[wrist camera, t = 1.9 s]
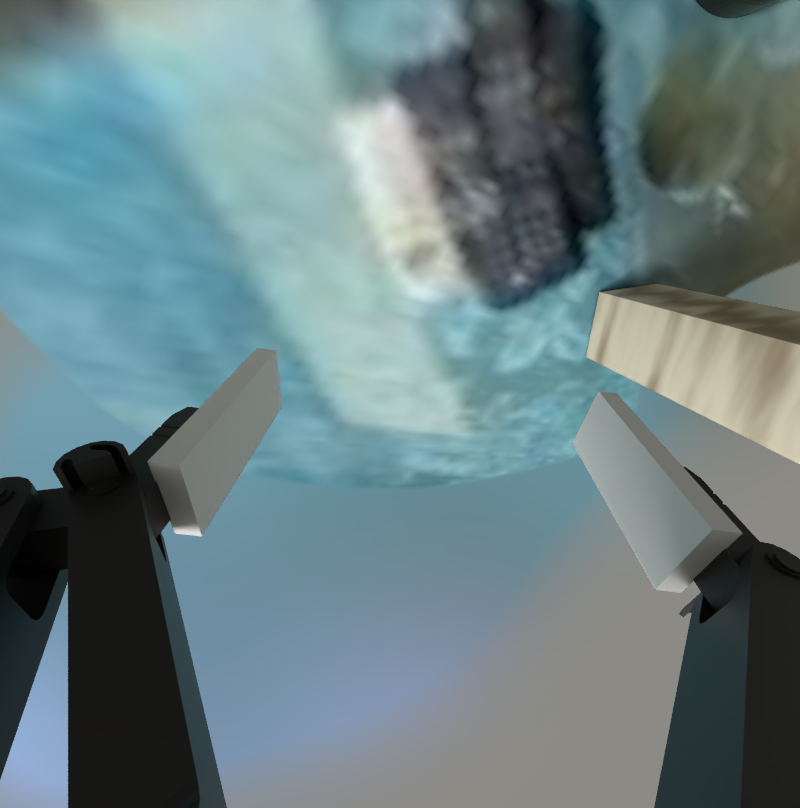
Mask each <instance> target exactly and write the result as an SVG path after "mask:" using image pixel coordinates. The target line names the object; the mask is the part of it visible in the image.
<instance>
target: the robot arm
mask: <svg viewBox="0 0 800 808" xmlns="http://www.w3.org/2000/svg"><path fill="white" fill-rule="evenodd" d="M777 1H780V0H697V2H698V3H699V4H700V5H701V6H702V7H703V8H705V9H706V10H707V11H709V12H711V13H713V14H715V15H718V16H722V17H739V16H744V15H747V14H750V13H752V12H755V11H757V10H759V9H762V8H764V7H766V6H768V5H771V4H773V3H775V2H777ZM280 409H281V397H280V386H279V375H278V364H277V353H276V351H275V350H268V349H260V348H257V349H256V350H255V351H254V352H253V353H252V354H251V355H250V356H249V357H248V358H247V359H246V360H245V361H244V362H243V363H242V364H241V365H240V366H239V367H238V368H237V370H236V371H235V372H234V373H233V374H232V375H231V376H230V377H229V378H228V379H227V380H226V381H225V382H224V383H223V384H222V385H221V386H220V387H219V388H218V389H217V390H216V391H215V392H214V393H213V394H212V395H211V396H210V397H209V398H208V399H207V400H206V401H205V403H204V404H203V405H202V406H201V407H200V408H194V407H186V408H185V409H183V410H181V411H179V412H177V413H175V414H173V415H172V416H171V417H169V418H168V419H167V420H166V421H165V422H164V423H163V424H162V425H161V427H159V428H158V429H157V430H156V431H155V432H154V433H153V435H152V436H149V437H148V438H147V439H146V440H145V441H144V442H143V443H142V444H141V445H140V446H139V447H138V448H137V449H136V450H135V451H134V452H133V453H132V454H130V455H128V452H127V450H126V448H125V447H124V446H123V444H120V443H118V442H115V441H100V442H93V443H89V444H86V445H83V446H80V447H77V448H75V449H73V450H71V451H70V452H68V453H66V454H64V455H63V456H62V457H61V458H60V459H59V460H58V461H57V462H56V463H55V466H54V468H53V471H54V472H55V474H56V476H57V477H58V479H59V481H60V482H61V484H62V486H63V488H57V489H48V490H40V491H37V490H36V489H35V487H34V486H33V484H32V483H31V482H30V481H29V480H28V479H26V478H22V477H5V478H1V479H0V778H1V775H2V772H3V769H4V767H5V764H6V761H7V758H8V755H9V752H10V749H11V746H12V743H13V740H14V737H15V734H16V731H17V729H18V726H19V723H20V720H21V717H22V714H23V711H24V708H25V705H26V702H27V699H28V696H29V693H30V690H31V688H32V685H33V682H34V678H35V676H36V673H37V670H38V667H39V664H40V661H41V658H42V655H43V652H44V649H45V646H46V644H47V641H48V638H49V635H50V632H51V629H52V626H53V623H54V620H55V617H56V614H57V611H58V608H59V605H60V603H61V599H62V597H63V594H64V591H65V588H66V585H67V582H68V808H227V807H226V803H225V799H224V794H223V790H222V786H221V781H220V777H219V773H218V768H217V764H216V760H215V756H214V752H213V747H212V743H211V739H210V734H209V730H208V726H207V721H206V717H205V713H204V709H203V704H202V700H201V696H200V692H199V687H198V683H197V679H196V675H195V670H194V666H193V662H192V657H191V653H190V649H189V645H188V640H187V636H186V632H185V628H184V623H183V619H182V615H181V610H180V606H179V602H178V598H177V593H176V589H175V585H174V581H173V576H172V572H171V568H170V563H169V559H168V555H167V551H166V547H165V542H164V538H163V536H162V534H161V532H162V530H163V529H164V527H165V526H166V525H167V523H168V522H169V521H170V522H171V524H172V527H173V529H174V532H175V533H177V534H185V535H194V536H203V534H204V532H205V531H206V529H207V528H208V526H209V524H210V523H211V521H212V519H213V518H214V516H215V515H216V513H217V511H218V510H219V508H220V506H221V505H222V503H223V502H224V500H225V498H226V497H227V495H228V493H229V492H230V490H231V489H232V487H233V485H234V484H235V482H236V480H237V479H238V477H239V476H240V474H241V472H242V471H243V469H244V467H245V466H246V464H247V463H248V461H249V459H250V458H251V456H252V454H253V453H254V451H255V450H256V448H257V446H258V445H259V443H260V441H261V440H262V438H263V436H264V435H265V433H266V432H267V430H268V428H269V427H270V425H271V423H272V422H273V420H274V419H275V417H276V415H277V414H278V412H279V410H280ZM573 445H574V447H575V449H576V450H577V452H578V454H579V456H580V457H581V459H582V461H583V463H584V465H585V466H586V468H587V470H588V472H589V473H590V475H591V477H592V478H593V481H594V482H595V484H596V486H597V488H598V489H599V491H600V493H601V495H602V496H603V498H604V500H605V502H606V504H607V505H608V507H609V509H610V511H611V512H612V514H613V516H614V518H615V519H616V521H617V523H618V525H619V526H620V528H621V530H622V532H623V534H624V535H625V537H626V539H627V541H628V542H629V544H630V546H631V548H632V550H633V551H634V553H635V555H636V557H637V559H638V560H639V562H640V564H641V566H642V567H643V569H644V571H645V573H646V574H647V576H648V578H649V580H650V582H651V583H652V585H653V587H654V588H655V590H662V591H672V592H680V593H681V592H682V591H683V590H684V589H685V588H686V587H687V586H688V585H689V584H690V583H691V582H693V581H694V582H695V583H696V585H697V586H698V588H699V589H700V591H701V593H700V594H699V595H698V596H696V598H694V599H693V600H692V601H691V602H690V603H689V604H688V605H687V606H685V607H684V608H683V609H682V611H681V612H680V613H679V614H680V615H681V616H683V617H684V616H685V615H686V614H687V613H692V614H691V619H690V624H689V629H688V635H687V640H686V645H685V650H684V656H683V661H682V666H681V671H680V676H679V682H678V687H677V692H676V697H675V702H674V708H673V713H672V718H671V723H670V729H669V734H668V739H667V744H666V749H665V755H664V760H663V766H662V770H661V775H660V781H659V786H658V791H657V796H656V802H655V807H654V808H800V559H799V558H798V557H796V556H794V555H793V554H791V553H789V552H788V551H786V550H784V549H782V548H780V547H777V546H775V545H773V544H769V543H763V542H759V540H757V538H756V537H755V536H754V535H753V534H752V533H751V532H750V531H749V530H748V529H747V528H746V526H745V525H744V524H743V523H742V522H741V521H740V520H739V519H738V518H737V517H736V516H735V515H734V514H733V512H732V511H731V510H730V509H729V508H728V507H727V506H726V505H723V502H722V501H721V499H719V497H718V496H717V495H716V494H713V491H712V490H711V489H710V488H709V487H708V485H707V484H706V483H705V482H704V481H703V480H702V479H701V478H700V477H698V476H697V475H695V474H694V473H693V472H691V471H690V470H688V469H687V468H686V467H683V466H682V465H681V464H680V463H679V462H678V461H677V460H676V459H675V457H674V456H673V455H672V454H671V453H670V452H669V451H668V450H667V449H666V447H665V446H664V445H663V444H662V443H661V442H660V441H659V440H658V439H657V437H656V436H655V435H654V434H653V433H652V432H651V431H650V430H649V429H648V428H647V426H646V425H645V424H644V423H643V422H642V421H641V420H640V419H639V417H638V416H637V415H636V414H635V413H634V412H633V411H632V410H631V409H630V407H629V406H628V405H627V404H626V403H625V402H624V401H623V400H622V399H621V397H620V396H619V395H618V394H616V393H608V392H600V391H598V393H597V395H596V397H595V399H594V401H593V403H592V405H591V407H590V409H589V411H588V413H587V415H586V417H585V419H584V421H583V423H582V425H581V427H580V429H579V431H578V433H577V435H576V437H575V439H574V441H573Z"/></svg>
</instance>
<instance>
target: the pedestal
mask: <svg viewBox="0 0 800 808" xmlns="http://www.w3.org/2000/svg"><path fill="white" fill-rule="evenodd" d="M586 357H587V358H589V359H591V360H593V361H595V362H597V363H599V364H601V365H603V366H605V367H607V368H609V369H611V370H613V371H615V372H617V373H619V374H621V375H623V376H625V377H627V378H629V379H631V380H633V381H635V382H637V383H639V384H641V385H643V386H645V387H647V388H649V389H651V390H653V391H655V392H657V393H659V394H661V395H663V396H665V397H667V398H669V399H671V400H673V401H675V402H677V403H679V404H681V405H683V406H685V407H687V408H689V409H691V410H693V411H695V412H697V413H699V414H701V415H703V416H705V417H707V418H709V419H711V420H713V421H715V422H717V423H719V424H721V425H723V426H725V427H727V428H729V429H731V430H733V431H735V432H737V433H739V434H741V435H743V436H745V437H747V438H749V439H751V440H753V441H755V442H757V443H758V444H761V445H762V446H764V447H767V448H769V449H771V450H773V451H775V452H777V453H778V454H780V455H782V456H785V457H786V458H788V459H791V460H792V461H795V462H796V463H798V464H800V312H797V311H792V310H787V309H782V308H777V307H772V306H767V305H762V304H757V303H752V302H747V301H742V300H737V299H732V298H727V297H722V296H717V295H712V294H707V293H702V292H697V291H692V290H687V289H682V288H677V287H672V286H667V285H662V284H652V285H645V286H638V287H631V288H624V289H617V290H610V291H603V292H599V297H598V302H597V307H596V312H595V316H594V321H593V326H592V331H591V335H590V340H589V345H588V350H587V355H586Z"/></svg>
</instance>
